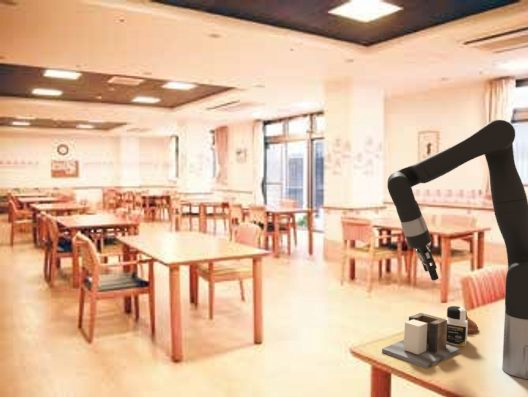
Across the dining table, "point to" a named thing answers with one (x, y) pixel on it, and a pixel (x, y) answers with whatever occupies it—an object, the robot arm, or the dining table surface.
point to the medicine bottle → (456, 326)
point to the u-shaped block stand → (435, 343)
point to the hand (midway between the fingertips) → (431, 274)
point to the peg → (415, 336)
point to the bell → (471, 326)
